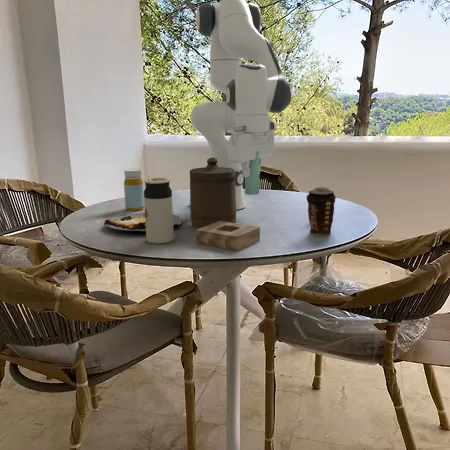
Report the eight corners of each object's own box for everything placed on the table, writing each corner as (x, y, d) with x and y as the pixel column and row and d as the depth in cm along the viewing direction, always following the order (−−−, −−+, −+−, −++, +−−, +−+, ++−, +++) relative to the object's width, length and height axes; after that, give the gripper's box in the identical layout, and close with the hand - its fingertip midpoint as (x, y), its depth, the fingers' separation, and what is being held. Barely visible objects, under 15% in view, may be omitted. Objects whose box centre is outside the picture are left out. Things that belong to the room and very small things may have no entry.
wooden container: (216, 217, 170) (215, 154, 165) (245, 225, 159) (245, 157, 154) (181, 224, 161) (179, 157, 155) (210, 233, 150) (208, 161, 144)
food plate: (133, 240, 143) (133, 228, 142) (90, 228, 159) (89, 217, 158) (195, 225, 161) (195, 215, 160) (150, 216, 177) (150, 206, 176)
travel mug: (174, 236, 147) (172, 177, 143) (172, 244, 139) (170, 181, 135) (148, 236, 147) (145, 177, 142) (144, 244, 139) (141, 182, 135)
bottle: (146, 207, 188) (143, 168, 184) (142, 211, 181) (140, 171, 177) (128, 207, 188) (125, 168, 184) (123, 211, 181) (121, 171, 177)
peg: (242, 193, 138) (241, 150, 135) (252, 191, 141) (252, 149, 138) (251, 195, 135) (251, 152, 132) (262, 193, 138) (262, 150, 135)
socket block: (196, 243, 140) (195, 229, 139) (219, 233, 149) (219, 221, 148) (237, 251, 132) (237, 236, 131) (259, 240, 142) (259, 227, 141)
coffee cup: (316, 228, 154) (318, 187, 151) (339, 232, 148) (341, 190, 145) (300, 233, 148) (301, 191, 145) (324, 238, 142) (325, 195, 139)
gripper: (242, 127, 123) (243, 181, 127) (278, 123, 140) (277, 171, 143) (221, 127, 126) (222, 180, 130) (258, 123, 143) (258, 170, 147)
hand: (251, 175), depth 137 cm, fingers closed on peg, 4 cm apart
